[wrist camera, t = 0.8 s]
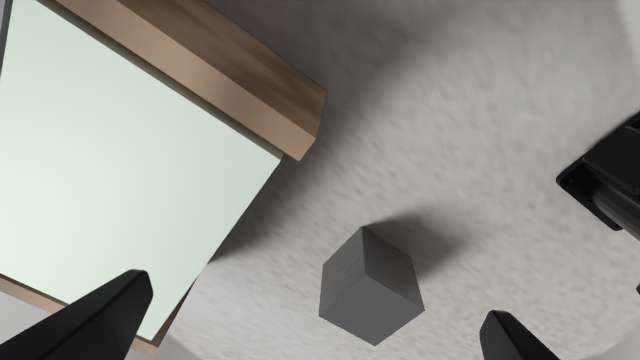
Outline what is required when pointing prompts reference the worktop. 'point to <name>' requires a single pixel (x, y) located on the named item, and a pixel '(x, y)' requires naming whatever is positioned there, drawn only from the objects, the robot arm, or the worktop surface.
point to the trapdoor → (111, 163)
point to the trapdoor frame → (203, 87)
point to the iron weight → (369, 288)
